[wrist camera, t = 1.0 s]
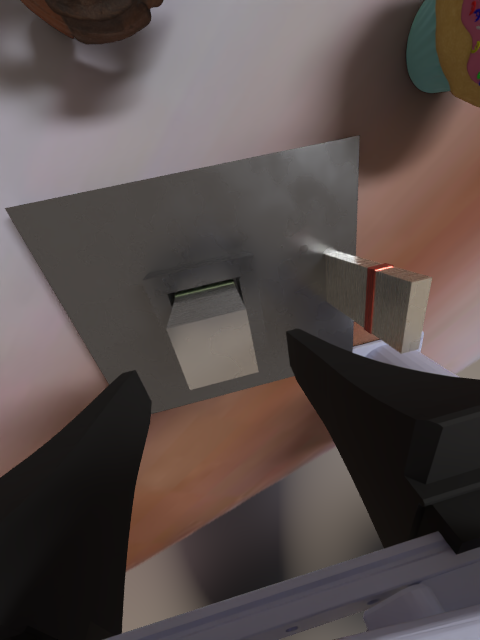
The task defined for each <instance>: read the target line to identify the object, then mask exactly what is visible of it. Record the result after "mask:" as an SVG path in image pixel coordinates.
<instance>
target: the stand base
mask: <svg viewBox="0 0 480 640" xmlns="http://www.w3.org/2000/svg"><path fill="white" fill-rule="evenodd" d="M359 140H360V135H359V136H354V137H350V138H345V139H340V140H335V141H330V142H325V143H320V144H316V145H311V146H306V147H301V148H296V149H291V150H286V151H282V152H277V153H272V154H267V155H262V156H257V157H252V158H248V159H243V160H238V161H233V162H228V163H223V164H218V165H214V166H209V167H204V168H199V169H194V170H189V171H184V172H180V173H175V174H170V175H165V176H160V177H155V178H150V179H146V180H141V181H136V182H131V183H126V184H121V185H116V186H112V187H107V188H102V189H97V190H92V191H87V192H82V193H78V194H73V195H68V196H63V197H58V198H53V199H48V200H44V201H39V202H34V203H29V204H24V205H19V206H14V207H10V208H5V209H6V211H7V213H8V214H9V216H10V218H11V219H12V221H13V223H14V224H15V226H16V228H17V229H18V231H19V233H20V235H21V236H22V238H23V240H24V241H25V243H26V245H27V246H28V248H29V250H30V251H31V253H32V255H33V257H34V258H35V260H36V262H37V263H38V265H39V267H40V268H41V270H42V272H43V273H44V275H45V277H46V279H47V280H48V282H49V284H50V285H51V287H52V289H53V290H54V292H55V294H56V295H57V297H58V299H59V301H60V302H61V304H62V306H63V307H64V309H65V311H66V312H67V314H68V316H69V317H70V319H71V321H72V323H73V324H74V326H75V328H76V329H77V331H78V333H79V334H80V336H81V338H82V339H83V341H84V343H85V345H86V346H87V348H88V350H89V351H90V353H91V355H92V356H93V358H94V360H95V361H96V363H97V365H98V367H99V368H100V370H101V372H102V373H103V375H104V377H105V378H106V380H107V382H108V384H109V385H110V384H111V383H112V382H113V381H114V380H115V379H116V378H117V377H118V376H120V375H121V374H122V373H125V372H129V371H133V370H136V372H137V374H138V375H139V377H140V379H141V381H142V383H143V385H144V387H145V389H146V391H147V393H148V395H149V397H150V399H151V401H152V406H151V414H153V413H157V412H161V411H164V410H168V409H172V408H176V407H179V406H183V405H187V404H191V403H194V402H198V401H202V400H206V399H209V398H213V397H217V396H221V395H224V394H228V393H232V392H236V391H239V390H243V389H247V388H251V387H254V386H258V385H262V384H266V383H269V382H273V381H277V380H281V379H285V378H288V377H292V376H295V375H294V373H293V371H292V369H291V367H290V362H289V354H288V345H287V337H286V331H290V330H293V329H297V328H299V329H301V330H303V331H305V332H307V333H309V334H311V335H313V336H315V337H318V338H320V339H322V340H324V341H326V342H328V343H330V344H333V345H335V346H337V347H340V348H342V349H345V350H347V351H350V352H353V322H354V321H355V322H356V323H358V324H359V325H361V326H362V327H364V330H366V331H367V332H369V333H370V334H371V333H372V334H374V335H375V336H376V337H378V338H379V339H381V340H382V341H384V342H385V343H386V344H388V345H389V346H391V347H392V348H394V349H395V350H396V351H398V352H399V353H401V354H402V353H406V352H410V351H414V350H417V349H419V344H420V339H421V334H422V328H423V323H424V318H425V313H426V307H427V302H428V297H429V291H430V286H431V281H432V277H429V276H425V275H422V274H418V273H414V272H411V271H407V270H404V269H400V268H396V267H393V265H390V264H387V263H384V264H382V263H378V262H375V261H371V260H367V259H364V258H360V257H356V231H357V201H358V170H359ZM228 279H233V281H234V284H235V287H236V289H237V291H238V293H239V295H240V297H241V300H242V302H243V304H244V306H245V308H246V311H247V316H248V321H249V326H250V331H251V336H252V341H253V346H254V351H255V356H256V361H257V366H258V371H259V372H257V373H253V374H249V375H246V376H242V377H238V378H234V379H230V380H227V381H223V382H219V383H215V384H211V385H208V386H204V387H200V388H196V389H192V390H190V389H189V386H188V384H187V381H186V379H185V376H184V373H183V371H182V368H181V366H180V363H179V361H178V358H177V355H176V353H175V350H174V348H173V345H172V343H171V340H170V337H169V335H168V332H167V330H166V328H167V324H168V321H169V318H170V314H171V311H172V307H173V304H174V300H175V293H176V292H177V291H181V290H185V289H190V288H194V287H198V286H202V285H207V284H211V283H215V282H219V281H223V280H228Z"/></svg>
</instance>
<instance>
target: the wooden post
mask: <svg viewBox="0 0 480 640" xmlns="http://www.w3.org/2000/svg"><path fill="white" fill-rule="evenodd" d="M166 330H167V332H168V335H169V337H170V340H171V343H172V345H173V348H174V350H175V353H176V355H177V358H178V361H179V363H180V366H181V368H182V371H183V373H184V376H185V379H186V381H187V384H188V386H189V389H190V390H192V389H196V388H200V387H204V386H208V385H211V384H215V383H219V382H223V381H227V380H230V379H234V378H238V377H242V376H246V375H249V374H253V373H257V372H259V371H258V366H257V361H256V356H255V351H254V346H253V341H252V336H251V331H250V326H249V321H248V316H247V311H246V308H245V306H244V304H243V302H242V300H241V297H240V295H239V293H238V291H237V289H236V287H235V284H234V281H233V279H228V280H223V281H219V282H215V283H211V284H207V285H202V286H198V287H194V288H190V289H185V290H181V291H177V292H176V293H175V300H174V304H173V307H172V311H171V314H170V318H169V321H168V324H167V328H166Z"/></svg>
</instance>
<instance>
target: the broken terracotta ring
mask: <svg viewBox="0 0 480 640" xmlns="http://www.w3.org/2000/svg"><path fill="white" fill-rule="evenodd" d="M21 1H22V3H24V4H25V5H26V6H27V7H28V8H29V9H30V10H31V11H32V12H34V13H35V14H36V15H37V16H39V17H40V18H41V19H43V20H44V21H45V22H47V23H48V24H49V25H51V26H52V27H54V28H55V29H57V30H58V31H60V32H62V33H63V34H65V35H67V36H68V37H70V38H73V39H74V37H75V39H77V40H78V41H80V42H82V43H84V44H104V43H111V42H115V41H120V40H123V39H125V38H128V37H130V36H132V35H134V34H135V33H136V32H138V31H140V30H141V29H142V28H144V27H146V26H147V25H148V24H149V23H150V21H151V12H150V8H153V7H159V6H160V5H161V4H162V2H163V0H21Z"/></svg>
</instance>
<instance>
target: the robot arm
mask: <svg viewBox="0 0 480 640" xmlns="http://www.w3.org/2000/svg"><path fill="white" fill-rule="evenodd" d="M423 336H424V332H423V331H422V334H421V339H420V344H419V349H417V350H414V351H410V352H406V353H402V354H401V353H399V352H398V351H396V350H395V349H394V348H392V347H391V346H389V345H388V344H386V343H385V342H384V341H382V340H377V341H373V342H369V343H366V344H362V345H358V346H354V347H353V352H350V351H347V350H345V349H342V348H340V347H337V346H335V345H333V344H330V343H328V342H326V341H324V340H322V339H320V338H318V337H315V336H313V335H311V334H309V333H307V332H305V331H303V330H301V329H299V328H297V329H293V330H290V331H286V337H287V345H288V354H289V362H290V367H291V369H292V371H293V373H294V375H295V378H296V380H297V382H298V383H299V385H300V387H301V388H302V390H303V391H304V393H305V395H306V396H307V398H308V399H309V401H310V402H311V404H312V405H313V407H314V409H315V410H316V412H317V413H318V415H319V416H320V418H321V419H322V421H323V423H324V424H325V426H326V428H327V430H328V431H329V433H330V435H331V437H332V439H333V441H334V443H335V445H336V447H337V449H338V451H339V453H340V455H341V457H342V458H343V461H344V463H345V465H346V467H347V469H348V471H349V473H350V475H351V477H352V479H353V481H354V483H355V486H356V488H357V490H358V492H359V494H360V496H361V498H362V500H363V503H364V505H365V507H366V509H367V511H368V513H369V516H370V518H371V520H372V522H373V524H374V527H375V529H376V531H377V533H378V535H379V538H380V540H381V542H382V545H383V547H384V549H382V550H378V551H376V552H372V553H370V554H366V555H363V556H360V557H357V558H354V559H351V560H348V561H345V562H341V563H338V564H335V565H332V566H329V567H326V568H323V569H320V570H317V571H314V572H310V573H307V574H304V575H301V576H298V577H295V578H292V579H289V580H286V581H283V582H280V583H276V584H273V585H270V586H267V587H264V588H261V589H258V590H255V591H252V592H249V593H246V594H242V595H240V596H236V597H233V598H230V599H227V600H224V601H221V602H218V603H215V604H212V605H209V606H205V607H202V608H199V609H196V610H193V611H190V612H187V613H184V614H181V615H177V616H175V617H172V618H168V619H165V620H162V621H159V622H156V623H153V624H150V625H147V626H144V627H141V628H137V629H134V630H131V631H128V632H125V633H122V617H123V600H124V583H125V572H126V560H127V549H128V539H129V530H130V522H131V513H132V506H133V499H134V492H135V485H136V480H137V475H138V471H139V467H140V462H141V458H142V454H143V450H144V446H145V442H146V438H147V433H148V429H149V424H150V417H151V406H152V401H151V399H150V397H149V395H148V393H147V391H146V389H145V387H144V385H143V383H142V381H141V379H140V377H139V375H138V374H137V372H136V370H133V371H129V372H125V373H122V374H121V375H120V376H118V377H117V378H116V379H115V380H114V381H113V382H112V383H111V384H110V385H109V386H108V387H107V388H106V389H105V390H104V391H103V392H102V393H101V394H100V395H98V396H97V397H96V398H95V399H94V400H93V401H92V402H91V403H90V404H89V405H88V406H87V407H86V408H85V409H84V410H83V411H82V412H81V413H80V414H79V415H78V416H76V417H75V418H74V419H73V420H72V421H71V422H70V423H69V424H68V425H67V426H66V427H64V428H63V429H62V430H61V431H60V432H59V433H58V434H56V435H55V436H54V437H53V438H52V439H51V440H49V441H48V442H47V443H46V444H44V445H43V446H42V447H41V448H39V449H38V450H37V451H36V452H34V453H33V454H32V455H31V456H29V457H28V458H27V459H25V460H24V461H23V462H21V463H20V464H18V465H17V466H16V467H14V468H13V469H12V470H10V471H9V472H8V473H6V474H5V475H3V476H2V477H1V478H0V640H279V639H281V638H284V637H287V636H290V635H293V634H296V633H299V632H302V631H305V630H308V629H311V628H314V627H317V626H320V625H323V624H326V623H329V622H332V621H335V620H338V619H340V618H343V617H346V616H349V615H352V614H355V613H358V612H361V611H364V610H366V611H365V612H364V618H363V619H364V621H365V623H366V626H367V631H366V632H363V633H359V634H355V635H351V636H346V637H342V638H338V639H334V640H480V380H477V379H469V378H460V377H458V376H457V375H455V374H454V373H452V372H450V371H449V370H447V369H446V368H444V367H443V366H441V365H439V364H438V363H436V362H435V361H433V360H431V359H430V358H428V357H427V356H425V355H424V354H422V353H420V352H421V347H422V341H423ZM367 609H368V610H367Z"/></svg>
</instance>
